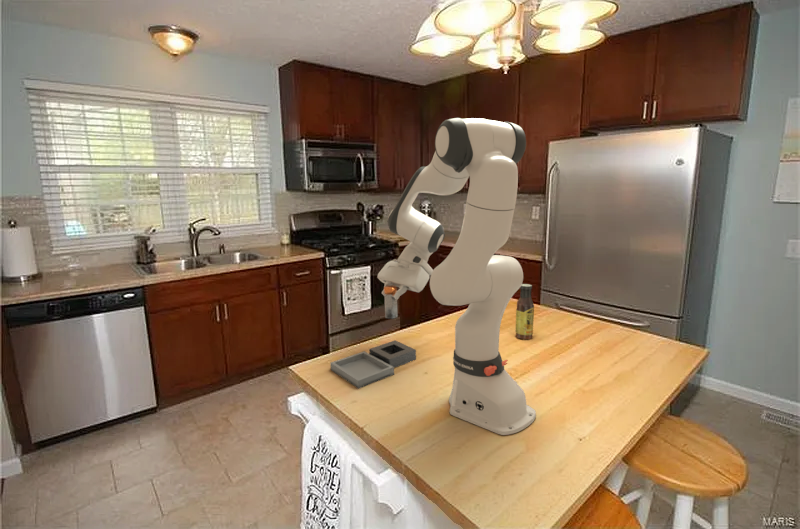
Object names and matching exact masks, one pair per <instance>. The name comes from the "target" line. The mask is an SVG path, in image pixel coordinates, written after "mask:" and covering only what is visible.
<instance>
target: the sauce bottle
mask: <svg viewBox="0 0 800 529" xmlns="http://www.w3.org/2000/svg"><path fill="white" fill-rule="evenodd" d="M532 289H533V285H532V284H528V283H522V285H521V287H520V288H519V290H520V295H519V298H518V300H517V302H516V310H515V329H514V330H515V337H516V338H518V339H520V340H531V339H532V338H533V334H534V320H535V319H534V317H535V305H534V302H533V300H532V299H533V298H532Z"/></svg>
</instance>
